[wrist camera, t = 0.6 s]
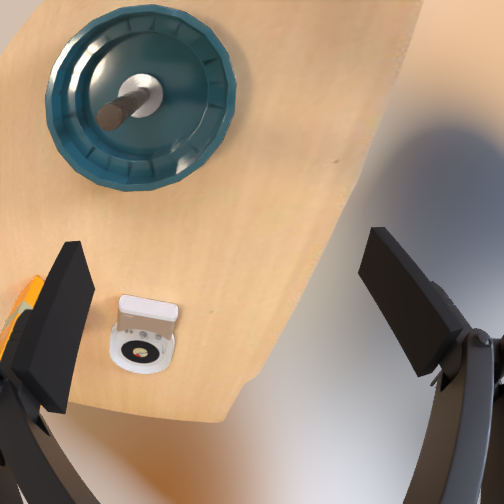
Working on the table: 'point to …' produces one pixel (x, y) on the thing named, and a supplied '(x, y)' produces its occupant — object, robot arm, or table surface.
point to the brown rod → (132, 101)
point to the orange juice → (20, 309)
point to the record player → (143, 335)
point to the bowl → (155, 125)
